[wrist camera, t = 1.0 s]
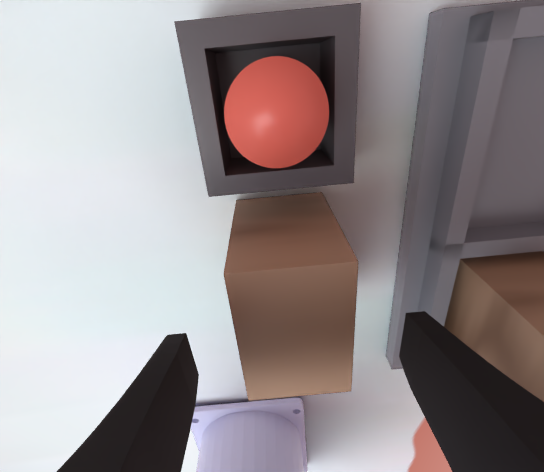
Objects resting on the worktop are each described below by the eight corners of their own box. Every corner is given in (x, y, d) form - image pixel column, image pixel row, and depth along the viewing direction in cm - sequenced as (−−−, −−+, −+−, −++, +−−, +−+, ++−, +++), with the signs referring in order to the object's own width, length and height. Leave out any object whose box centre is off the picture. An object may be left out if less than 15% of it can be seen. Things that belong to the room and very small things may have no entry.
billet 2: (506, 337, 18) (610, 449, 13) (437, 343, 18) (512, 457, 13) (539, 249, 15) (691, 345, 10) (458, 256, 15) (565, 357, 10)
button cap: (316, 146, 12) (328, 163, 10) (237, 154, 12) (232, 172, 10) (314, 55, 10) (329, 50, 8) (224, 63, 10) (215, 61, 8)
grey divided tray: (526, 343, 20) (555, 372, 18) (385, 355, 20) (399, 387, 18) (677, -12, 11) (765, -29, 9) (429, 13, 11) (465, 1, 9)
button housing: (334, 161, 14) (353, 182, 11) (218, 172, 14) (208, 196, 11) (336, 19, 11) (360, 2, 9) (194, 33, 11) (174, 21, 9)
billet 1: (322, 293, 17) (351, 391, 12) (251, 299, 17) (248, 400, 12) (321, 191, 14) (358, 261, 9) (236, 199, 14) (223, 274, 9)
